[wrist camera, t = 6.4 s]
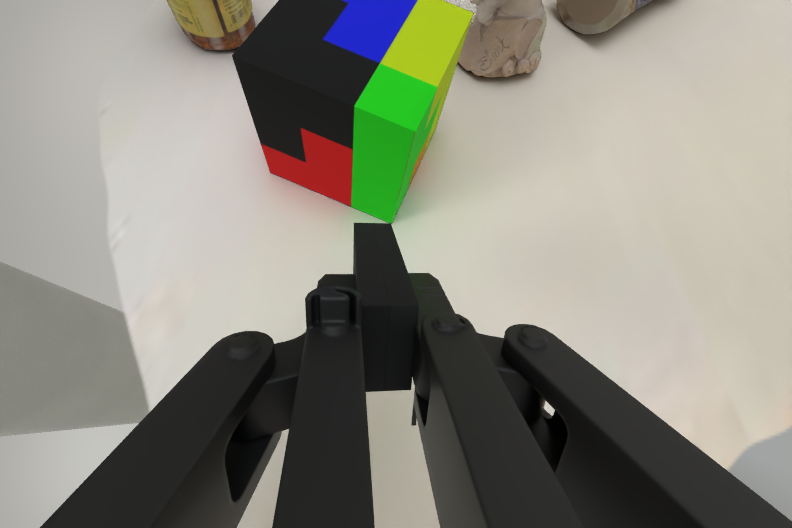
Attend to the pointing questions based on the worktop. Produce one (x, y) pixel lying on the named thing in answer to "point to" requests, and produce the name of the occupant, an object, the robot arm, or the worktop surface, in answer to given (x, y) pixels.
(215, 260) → the worktop surface
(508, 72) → the figurine
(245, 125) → the worktop surface
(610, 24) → the decorative bottle
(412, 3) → the puzzle toy
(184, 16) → the sauce bottle
